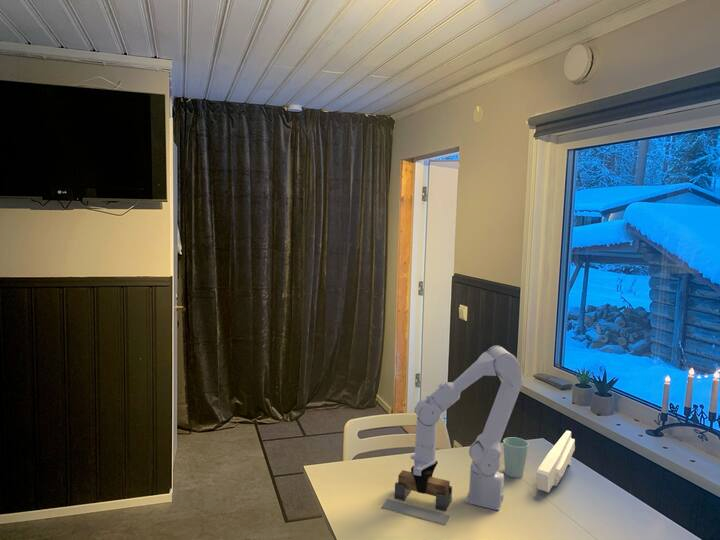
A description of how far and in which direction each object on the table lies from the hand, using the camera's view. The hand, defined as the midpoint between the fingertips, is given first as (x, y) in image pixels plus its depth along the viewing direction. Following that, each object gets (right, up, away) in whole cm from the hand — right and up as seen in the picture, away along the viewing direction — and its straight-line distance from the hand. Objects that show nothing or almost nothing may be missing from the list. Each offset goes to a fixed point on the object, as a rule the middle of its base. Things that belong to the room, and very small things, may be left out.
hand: (423, 489), depth 153 cm
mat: (-3, -4, -6) cm, 8 cm away
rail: (0, 0, 0) cm, 0 cm away
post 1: (-6, -3, +3) cm, 7 cm away
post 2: (+5, -4, -2) cm, 7 cm away
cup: (+31, -3, +18) cm, 36 cm away
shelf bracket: (+43, -3, +16) cm, 46 cm away
